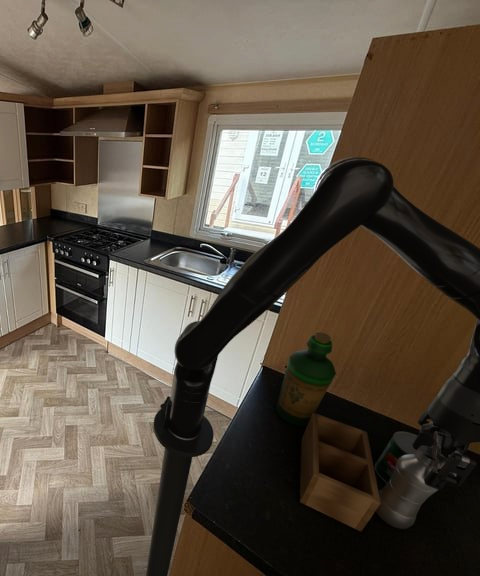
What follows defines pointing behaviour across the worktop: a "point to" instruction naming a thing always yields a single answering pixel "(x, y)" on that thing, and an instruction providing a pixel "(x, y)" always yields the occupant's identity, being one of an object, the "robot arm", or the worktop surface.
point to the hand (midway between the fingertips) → (424, 466)
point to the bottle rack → (338, 472)
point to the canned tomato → (394, 453)
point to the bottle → (306, 380)
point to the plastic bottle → (407, 488)
